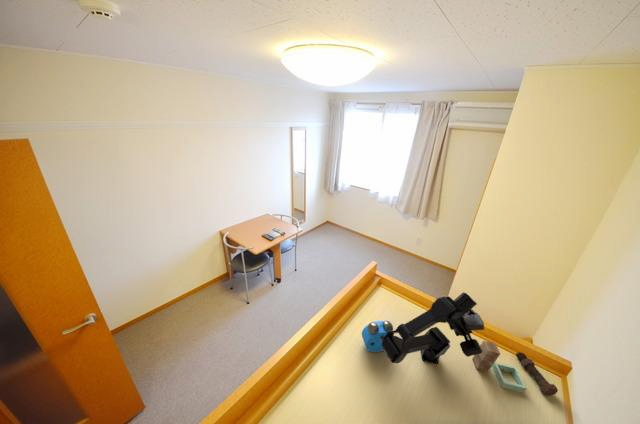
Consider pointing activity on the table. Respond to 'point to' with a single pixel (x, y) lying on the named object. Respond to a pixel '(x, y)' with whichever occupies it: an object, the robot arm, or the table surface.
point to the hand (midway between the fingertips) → (473, 342)
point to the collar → (520, 384)
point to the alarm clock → (376, 334)
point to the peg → (486, 356)
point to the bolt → (537, 375)
